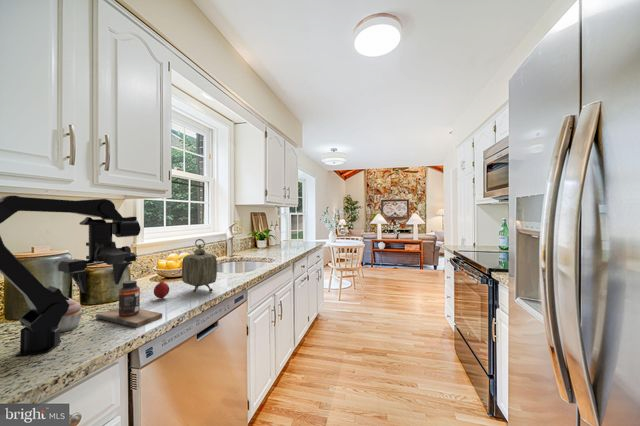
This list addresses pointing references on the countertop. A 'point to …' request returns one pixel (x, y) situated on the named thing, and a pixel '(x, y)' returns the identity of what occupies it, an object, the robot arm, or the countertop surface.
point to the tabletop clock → (199, 268)
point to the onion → (161, 290)
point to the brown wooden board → (130, 317)
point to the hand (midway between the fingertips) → (101, 288)
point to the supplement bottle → (129, 298)
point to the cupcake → (71, 316)
